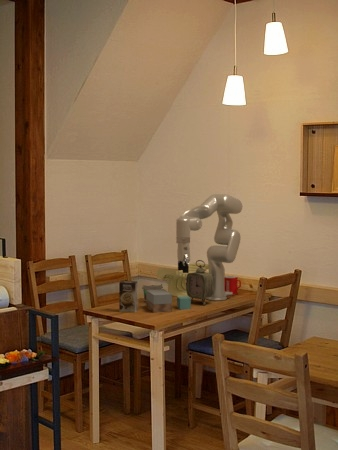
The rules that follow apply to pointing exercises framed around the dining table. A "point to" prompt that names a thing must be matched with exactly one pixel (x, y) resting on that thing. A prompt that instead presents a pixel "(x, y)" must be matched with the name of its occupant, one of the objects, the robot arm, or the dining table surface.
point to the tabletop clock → (200, 284)
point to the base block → (159, 307)
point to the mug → (232, 284)
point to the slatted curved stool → (178, 278)
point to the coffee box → (128, 296)
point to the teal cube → (184, 302)
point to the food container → (152, 287)
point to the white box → (159, 296)
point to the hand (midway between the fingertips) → (183, 271)
